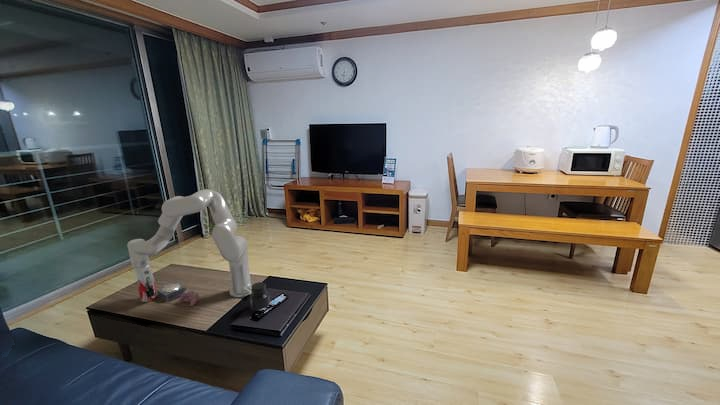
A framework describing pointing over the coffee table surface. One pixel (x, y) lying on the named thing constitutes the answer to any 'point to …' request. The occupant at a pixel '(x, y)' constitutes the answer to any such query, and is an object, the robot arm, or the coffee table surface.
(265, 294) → the ink bottle
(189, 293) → the video game controller
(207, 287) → the coffee table surface
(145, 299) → the soda can
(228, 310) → the coffee table surface
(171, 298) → the motor block
